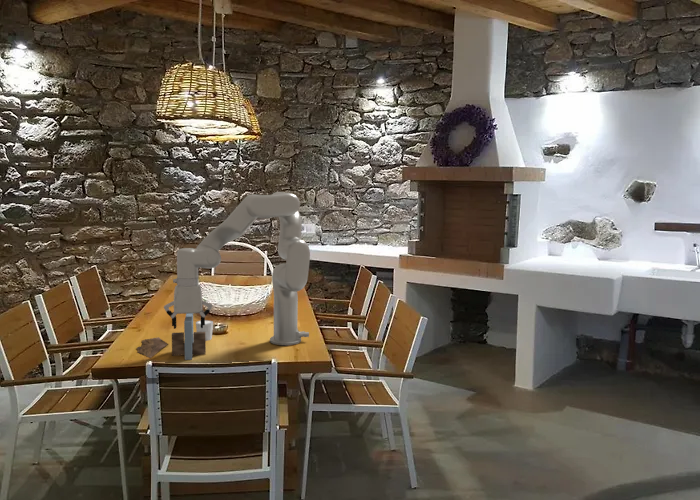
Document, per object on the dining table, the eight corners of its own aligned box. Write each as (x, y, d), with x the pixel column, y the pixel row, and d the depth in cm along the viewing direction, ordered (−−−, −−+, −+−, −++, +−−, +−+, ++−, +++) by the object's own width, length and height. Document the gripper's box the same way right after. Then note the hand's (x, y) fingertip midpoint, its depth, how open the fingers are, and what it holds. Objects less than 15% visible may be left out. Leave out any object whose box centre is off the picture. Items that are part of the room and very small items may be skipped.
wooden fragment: (143, 339, 248) (143, 336, 247) (171, 338, 249) (171, 336, 249) (131, 359, 222) (131, 356, 222) (162, 358, 224) (162, 355, 224)
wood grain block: (205, 352, 231) (205, 331, 230) (205, 354, 228) (205, 333, 227) (172, 353, 228) (172, 332, 227) (172, 355, 226) (171, 334, 225)
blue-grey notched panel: (191, 359, 222) (191, 321, 220) (184, 359, 222) (184, 322, 220) (193, 348, 236) (193, 312, 234) (187, 348, 235) (186, 312, 233)
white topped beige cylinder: (196, 341, 245) (196, 324, 244) (195, 337, 251) (195, 320, 250) (213, 340, 247) (213, 323, 246) (212, 336, 253) (212, 319, 252)
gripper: (162, 284, 220) (163, 330, 222) (211, 283, 223) (212, 329, 225) (164, 280, 227) (165, 325, 229) (212, 279, 230) (212, 324, 232)
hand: (188, 327), depth 227 cm, fingers open, 9 cm apart
